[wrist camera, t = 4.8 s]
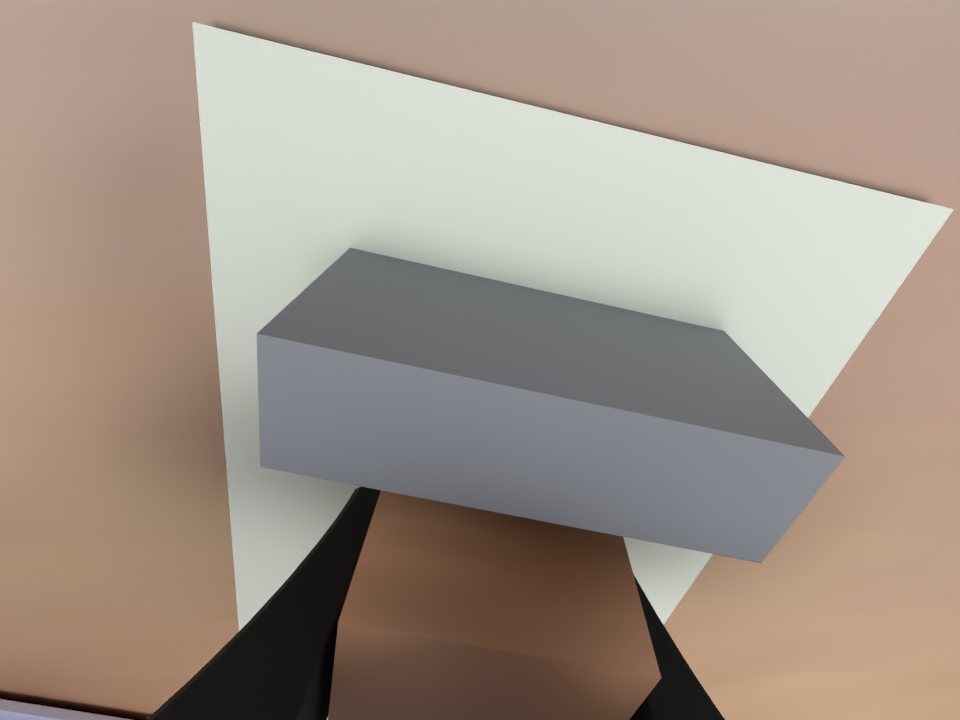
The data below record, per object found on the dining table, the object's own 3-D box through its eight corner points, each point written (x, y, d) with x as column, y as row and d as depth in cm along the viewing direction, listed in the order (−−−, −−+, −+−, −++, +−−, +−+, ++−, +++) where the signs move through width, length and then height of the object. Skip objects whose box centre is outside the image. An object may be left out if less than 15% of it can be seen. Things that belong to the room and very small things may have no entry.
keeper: (382, 561, 12) (320, 791, 8) (408, 404, 9) (337, 621, 5) (534, 589, 12) (547, 825, 8) (598, 443, 10) (661, 677, 6)
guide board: (252, 700, 17) (187, 852, 14) (211, 26, 7) (-73, -47, 4) (562, 751, 18) (575, 907, 14) (928, 203, 8) (1268, 284, 4)
